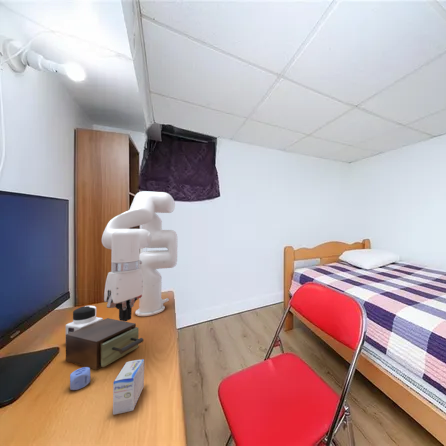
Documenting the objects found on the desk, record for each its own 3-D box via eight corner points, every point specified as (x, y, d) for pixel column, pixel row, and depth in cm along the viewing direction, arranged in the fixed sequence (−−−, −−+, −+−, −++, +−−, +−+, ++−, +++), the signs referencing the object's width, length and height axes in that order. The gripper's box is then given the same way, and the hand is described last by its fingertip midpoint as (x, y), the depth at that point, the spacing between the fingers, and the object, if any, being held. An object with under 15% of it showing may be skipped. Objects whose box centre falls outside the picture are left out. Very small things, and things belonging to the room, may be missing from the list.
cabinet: (135, 347, 81) (135, 323, 81) (96, 369, 69) (96, 341, 68) (107, 340, 85) (107, 318, 84) (65, 361, 72) (65, 334, 72)
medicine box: (125, 391, 60) (125, 361, 60) (144, 387, 62) (144, 358, 62) (112, 416, 53) (112, 381, 53) (134, 410, 54) (134, 377, 54)
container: (80, 347, 80) (80, 312, 80) (64, 344, 82) (65, 310, 81) (103, 336, 88) (103, 304, 87) (88, 333, 89) (88, 302, 89)
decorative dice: (70, 392, 59) (70, 378, 59) (70, 385, 62) (70, 371, 62) (90, 384, 62) (90, 371, 62) (89, 377, 65) (89, 364, 65)
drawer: (149, 349, 78) (149, 329, 78) (115, 370, 67) (115, 347, 67) (111, 340, 83) (112, 322, 83) (74, 359, 72) (74, 337, 72)
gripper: (138, 261, 81) (138, 309, 81) (92, 270, 67) (91, 328, 67) (154, 263, 79) (153, 312, 79) (109, 272, 65) (109, 332, 65)
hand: (125, 319), depth 73 cm, fingers closed
